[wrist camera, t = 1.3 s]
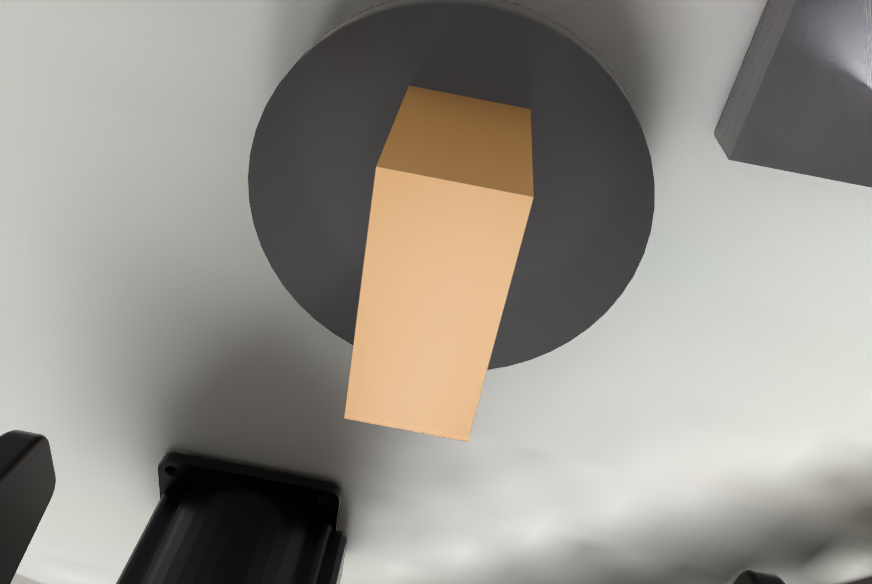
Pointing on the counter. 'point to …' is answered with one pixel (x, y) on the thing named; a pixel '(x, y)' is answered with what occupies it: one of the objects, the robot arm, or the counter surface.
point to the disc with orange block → (449, 198)
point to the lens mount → (805, 92)
